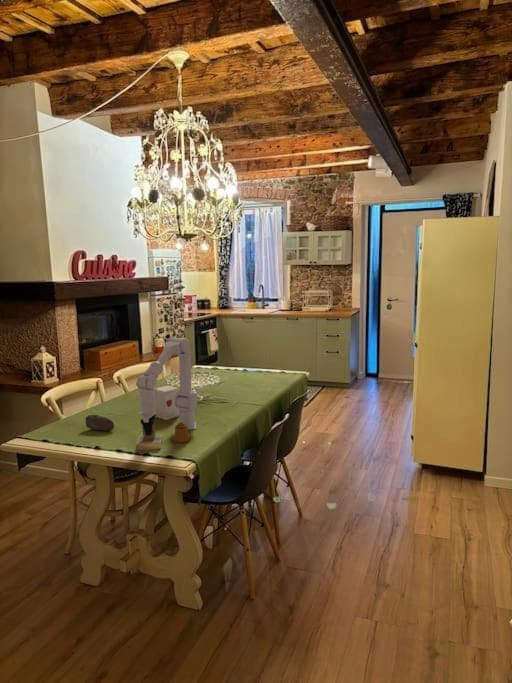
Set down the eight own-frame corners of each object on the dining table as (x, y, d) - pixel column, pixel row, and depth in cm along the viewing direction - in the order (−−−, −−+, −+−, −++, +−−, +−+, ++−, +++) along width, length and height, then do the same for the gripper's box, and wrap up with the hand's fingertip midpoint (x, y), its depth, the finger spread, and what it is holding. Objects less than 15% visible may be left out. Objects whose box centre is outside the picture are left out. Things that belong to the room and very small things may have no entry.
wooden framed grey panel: (140, 441, 216) (139, 434, 216) (163, 440, 217) (162, 433, 216) (136, 450, 206) (136, 443, 206) (160, 449, 207) (160, 442, 207)
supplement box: (165, 420, 244) (163, 391, 241) (155, 417, 250) (153, 388, 247) (180, 416, 250) (178, 387, 248) (169, 412, 256) (167, 385, 254)
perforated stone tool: (117, 429, 232) (116, 416, 231) (110, 433, 227) (109, 419, 226) (92, 426, 238) (91, 412, 237) (85, 430, 233) (83, 416, 232)
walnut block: (144, 436, 213) (144, 423, 212) (155, 435, 213) (154, 422, 212) (143, 440, 209) (142, 426, 208) (154, 439, 209) (153, 426, 208)
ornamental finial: (191, 442, 214) (174, 444, 212) (189, 436, 221) (173, 438, 219) (190, 425, 213) (173, 426, 211) (188, 419, 220) (172, 421, 218)
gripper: (140, 398, 215) (142, 427, 218) (135, 408, 201) (137, 439, 203) (156, 397, 216) (158, 426, 218) (152, 407, 202) (154, 438, 204)
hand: (149, 433), depth 211 cm, fingers open, 5 cm apart
